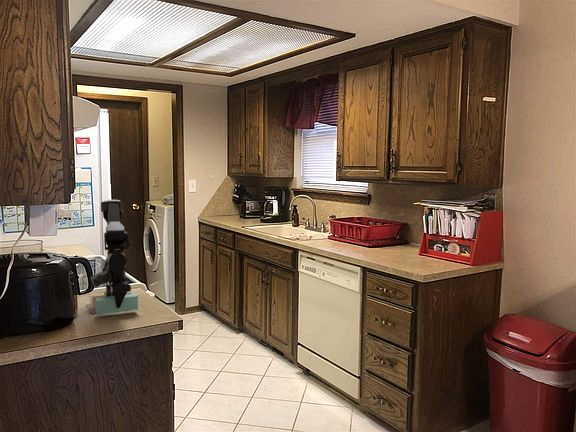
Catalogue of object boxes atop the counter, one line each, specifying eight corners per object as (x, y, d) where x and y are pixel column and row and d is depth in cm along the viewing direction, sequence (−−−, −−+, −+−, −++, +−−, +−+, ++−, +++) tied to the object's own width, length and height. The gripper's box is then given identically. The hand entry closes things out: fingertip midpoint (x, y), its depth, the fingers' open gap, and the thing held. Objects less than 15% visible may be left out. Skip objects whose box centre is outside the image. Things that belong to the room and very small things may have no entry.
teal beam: (95, 311, 174) (95, 298, 174) (135, 306, 181) (135, 293, 181) (97, 314, 171) (97, 301, 170) (138, 309, 178) (137, 296, 177)
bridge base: (86, 305, 187) (86, 291, 186) (129, 300, 195) (129, 286, 194) (91, 314, 177) (91, 299, 176) (136, 308, 185) (136, 294, 184)
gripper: (88, 261, 178) (89, 302, 180) (96, 271, 162) (97, 316, 164) (119, 258, 184) (120, 298, 186) (130, 268, 168) (131, 312, 170)
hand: (117, 306), depth 176 cm, fingers closed on teal beam, 4 cm apart
